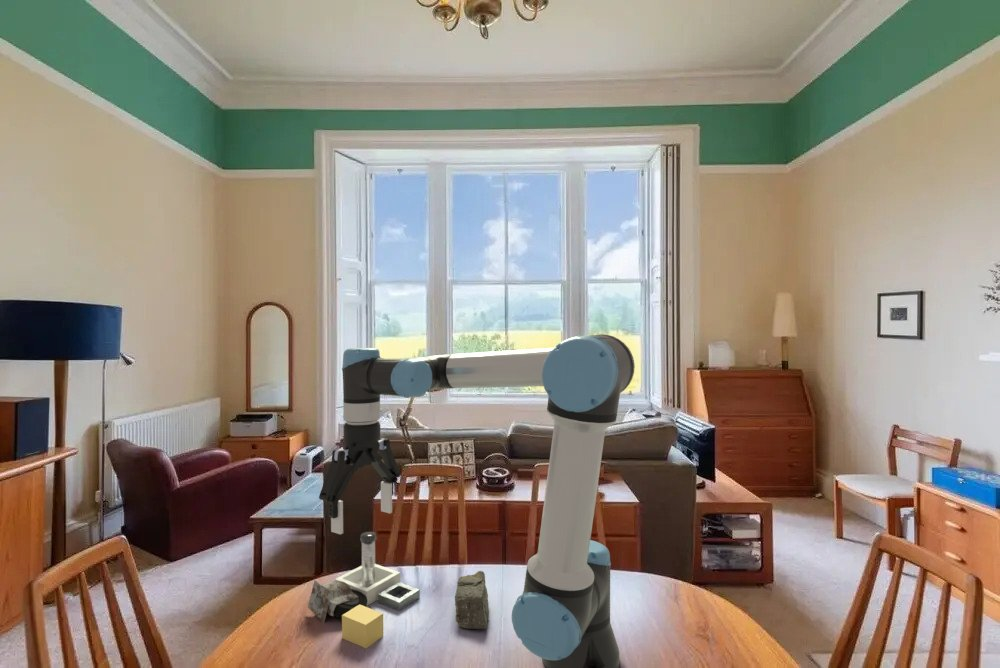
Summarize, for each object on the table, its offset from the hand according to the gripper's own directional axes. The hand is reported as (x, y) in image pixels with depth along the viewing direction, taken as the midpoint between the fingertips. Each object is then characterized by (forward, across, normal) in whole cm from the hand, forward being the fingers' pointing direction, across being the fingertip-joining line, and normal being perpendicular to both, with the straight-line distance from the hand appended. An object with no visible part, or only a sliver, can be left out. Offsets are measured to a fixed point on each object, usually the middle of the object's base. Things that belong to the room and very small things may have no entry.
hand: (363, 521), depth 111 cm
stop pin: (+24, -14, -14) cm, 32 cm away
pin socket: (+25, -15, -4) cm, 29 cm away
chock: (+25, 0, 0) cm, 25 cm away
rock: (+25, -20, +14) cm, 35 cm away
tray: (+25, -14, -14) cm, 32 cm away
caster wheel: (+25, -4, -12) cm, 28 cm away
